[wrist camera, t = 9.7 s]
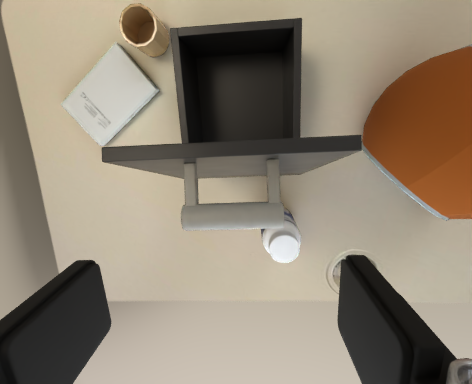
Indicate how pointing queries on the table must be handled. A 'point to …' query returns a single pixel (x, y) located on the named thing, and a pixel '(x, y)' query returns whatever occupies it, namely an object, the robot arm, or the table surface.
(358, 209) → the table surface
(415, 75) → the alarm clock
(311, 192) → the table surface
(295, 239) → the pill bottle
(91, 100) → the hard drive
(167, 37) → the wooden cup
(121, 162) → the lid
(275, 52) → the open storage box
